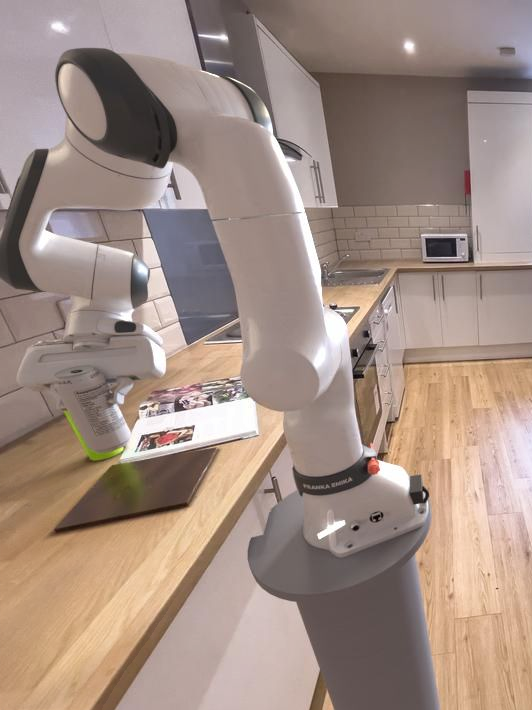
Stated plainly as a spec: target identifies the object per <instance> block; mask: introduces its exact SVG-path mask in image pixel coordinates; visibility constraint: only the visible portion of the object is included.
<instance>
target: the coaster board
mask: <svg viewBox="0 0 532 710" xmlns="http://www.w3.org/2000/svg"><path fill="white" fill-rule="evenodd" d="M218 452H219V447H218V446H216V447H209V448H204V449H198V450H193V451H187V452H180V453H174V454H168V455H163V456H157V457H152V458H151V457H150V458H146V459H140V460H135V461H134V460H133V461H129V462H123V463H115V464H112V465H110V467H108V469H107V470H106V471H105V472H104V473H103V474H102V476H100V478H99V479H98V480H97V481H96V482H95V483H94V484H93V485H92V486H91V487H90V489H89V490H87V492H86V493H85V494H84V495H83V496H82V497H81V498H80V500H79V501H78V502H77V503H76V504H75V505H74V506H73V507H72V508H71V510H70V511H68V513H67V514H66V515H65V516H64V517H63V518H62V519H61V520H60V521H59V522H58V524H57V525H56V526H55V527H54V528H53V531H54V533H61V532H67V531H70V530H76V529H80V528H86V527H91V526H94V525H99V524H105V523H109V522H115V521H120V520H124V519H130V518H135V517H140V516H144V515H149V514H154V513H159V512H163V511H168V510H173V509H178V508H182V507H187V506H190V504H191V502H192V500H193V498H194V496H195V495H196V493H197V491H198V489H199V487H200V486H201V484H202V481H203V480H204V478H205V476H206V475H207V472H208V470H209V469H210V467H211V465H212V463H213V461H214V459H215V458H216V456H217V454H218Z"/></svg>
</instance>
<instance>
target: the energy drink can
mask: <svg viewBox="0 0 532 710" xmlns="http://www.w3.org/2000/svg"><path fill="white" fill-rule="evenodd" d="M55 377H56V380H55V384H54V386H55V388H56V390H57V392H58V394H59V395H60V397H61V399H62V401H63V403H64V405H65V407H66V408H67V410H68V412H69V414H70V416H71V418H72V419H73V421H74V423H75V425H76V427H77V429H78V431H79V432H80V434H81V436H82V438H83V440H84V442H85V444H86V445H87V447H88V449H90V450H94V451H95V452H96V453H106V452H111V451H114V450H117V449H120V448H122V447H123V448H124V447H126V446H127V445H128V444H129V443H130V442H131V438H132V436H133V434H132V431H131V430H130V428H129V425H128V424H127V422H126V420H125V417H124V415H123V413H122V411H121V410H120V407H119V405H111V404H108V403H107V399H108V393H113V392H112V391H111V388H110V386H109V384H107V382H106V380H105V378H104V376H103V374H102V373H100V372H99V371H97V370H96V369H95V368H94V366H92V365H84V366H77V367H72V368H68V369H64V370H61V371H59V372H57V373H55Z"/></svg>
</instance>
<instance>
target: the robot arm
mask: <svg viewBox="0 0 532 710" xmlns="http://www.w3.org/2000/svg"><path fill="white" fill-rule="evenodd" d="M54 79H55V80H54V81H55V88H56V91H57V95H58V98H59V101H60V103H61V106H62V108H63V110H64V111H63V112H64V113H65V115H66V116H65V126H64V136H63V139H62V140H61V141H60V143H58V144H57V145H55V146H53V147H51V148H35V149H34V150H33V151H31V153H29V155H28V157H26V159H25V161H24V163H23V166H22V170H21V173H20V175H19V176H18V178H17V181H16V183H15V186H14V190H13V193H12V196H11V199H10V201H9V206H8V208H7V211H6V215H5V221H4V223H3V227H2V228H1V230H0V280H2V281H3V282H5V283H6V284H7V285H8V286H10V287H12V288H14V289H15V290H22V291H31V292H38V293H39V292H40V293H41V292H42V293H52V294H59V295H65V296H69V299H70V302H71V308H70V310H69V311H68V312H67V315H66V320H65V326H64V332H63V338H58V339H52V340H46V339H45V340H38V341H37V343H34V344H32V345H30V346H29V347H27V348H26V351H25V354H24V356H23V358H22V361H21V363H20V365H19V368H18V371H17V374H16V378H15V381H16V383H17V384H18V385H19V386H20V387H22V388H25V389H27V390H29V391H32V392H35V393H36V392H38V393H39V392H48V391H49V392H50V393H51V394H52V396H53V397H54V398H55V400H56V402H55V409H56V410H57V411H60V412H64V411H68V410H67V408H66V407H65V405H64V403H63V401H62V399H61V397H60V395H59V394H58V392H57V390H56V388H55V386H54V384H55V380H56V377H55V373H57V372H59V371H61V370H64V369H68V368H72V367H77V366H84V365H92V366H94V368H95V369H96V370H97V371H99V372H100V373H102V374H103V376H104V378H105V380H106V382H107V384H108V385H112V384H117V386H116V388H114V390H113V392H112V393H108V399H107V403H108V404H111V405H118V406H119V405H123V404H124V402H125V396H126V395H127V394H128V393H129V392H130V391H131V389H132V388H133V387H134V382H141V381H150V380H159V379H161V378H162V377H163V376H164V375H165V374H166V372H167V371H166V370H167V358H166V352H165V350H164V348H162V346H163V343H164V339H163V338H162V337H161V336H160V335H159V334H158V332H156V331H155V330H153V329H152V328H150V327H149V326H148V325H146V324H145V323H142V322H139V321H134V320H133V316H132V315H133V313H134V311H135V309H138V308H139V307H141V306H142V305H144V304H145V303H146V302H147V301H148V298H149V289H148V284H149V282H150V278H151V277H150V276H151V269H150V267H149V266H148V265H147V263H146V262H145V261H144V260H143V259H142V258H141V257H140V256H138V255H137V254H136V253H135V252H134V253H133V252H130V251H128V250H126V249H125V250H124V249H120V248H116V247H112V246H108V245H105V244H104V245H103V244H101V243H100V244H97V243H93V242H89V241H85V240H80V239H77V238H71V237H67V236H63V235H59V234H56V233H53V232H50V231H48V230H46V229H47V226H48V223H49V221H50V218H51V216H52V213H53V212H54V211H56V210H60V209H67V208H69V209H70V208H90V209H102V210H110V211H133V210H139V209H143V208H147V207H149V206H152V205H154V204H156V203H157V202H158V201H160V200H161V199H162V197H163V196H164V194H165V193H166V190H167V188H168V185H169V182H170V179H171V176H172V171H173V165H174V164H177V165H180V166H181V167H183V168H185V169H186V170H187V171H188V172H189V173H191V174H192V176H193V177H194V179H195V180H196V181H197V184H198V186H199V188H200V192H201V194H202V198H203V200H204V204H205V207H206V209H207V212H208V216H209V218H210V220H211V224H212V227H213V229H214V233H215V235H216V237H217V240H218V243H219V246H220V248H221V252H222V254H223V257H224V260H225V262H226V266H227V269H228V271H229V275H230V277H231V280H232V285H233V288H234V293H235V298H236V305H237V313H238V320H239V321H238V322H239V328H240V336H241V343H242V344H241V345H242V361H241V367H240V372H239V373H240V374H239V375H240V376H239V377H240V382H241V385H242V387H243V389H244V391H245V393H246V394H247V396H248V397H249V398H250V399H251V400H252V401H254V402H255V403H256V404H257V405H259V406H261V407H263V408H265V409H267V410H270V411H274V412H280V413H283V417H282V429H283V433H284V436H285V440H286V444H287V446H288V450H289V453H290V457H291V460H292V463H293V464H292V465H293V466H292V468H291V469H292V477H293V481H294V484H295V487H296V490H298V491H299V494H300V496H302V501H303V509H304V526H303V535H304V538H305V540H306V541H307V542H308V543H309V544H311V545H312V546H314V547H317V548H321V549H326V550H329V551H330V552H331V553H332V554H334V555H335V556H336V557H339V558H343V557H347V556H349V555H352V554H354V553H357V552H359V551H362V550H364V549H367V548H369V547H372V546H374V545H377V544H379V543H382V542H384V541H387V540H389V539H392V538H394V537H397V536H399V535H402V534H404V533H407V532H409V531H412V530H414V529H417V528H419V527H421V526H423V525H424V523H425V521H426V519H427V517H428V511H429V506H428V498H430V492H429V490H428V488H427V487H425V486H424V482H423V475H422V474H415V475H409V474H408V473H407V471H406V470H405V469H404V468H403V467H402V466H400V465H397V464H392V463H390V462H386V461H383V460H379V459H378V456H377V452H376V450H375V447H374V445H373V443H372V442H370V447H368V446H365V444H362V438H361V433H360V428H359V423H358V418H357V414H356V405H355V391H354V389H355V388H354V376H353V365H352V356H351V355H352V354H351V349H350V335H349V328H348V325H347V323H346V321H345V320H344V318H343V317H342V316H341V314H339V313H338V312H336V311H335V310H333V309H331V308H330V307H327V306H324V303H323V293H322V269H321V265H320V261H319V257H318V253H317V250H316V248H315V244H314V240H313V236H312V232H311V229H310V225H309V222H308V217H307V214H306V210H305V207H304V204H303V201H302V198H301V194H300V191H299V188H298V185H297V183H296V180H295V177H294V175H293V173H292V170H291V167H290V166H289V162H288V161H287V158H286V156H285V154H284V152H283V150H282V148H281V145H280V144H279V142H278V140H277V138H276V137H275V136H274V130H273V123H272V119H271V116H270V114H269V111H268V109H267V107H266V105H265V103H264V102H263V100H262V98H261V97H260V96H259V95H258V94H257V93H256V91H255V90H253V89H252V88H251V87H249V86H248V85H246V84H244V83H242V82H241V81H238V80H236V79H234V78H232V77H230V76H227V75H224V74H214V73H211V72H207V71H205V70H202V69H198V68H194V67H191V66H187V65H183V64H180V63H178V62H176V61H173V60H170V59H165V58H161V57H154V56H147V55H141V54H132V53H124V52H122V53H121V52H115V51H113V50H111V49H109V48H104V47H78V48H77V47H76V48H70V49H67V50H65V51H64V52H62V53H61V55H60V57H59V59H58V61H57V64H56V67H55V71H54ZM408 475H409V476H410V477H409V476H408ZM350 547H351V548H350Z"/></svg>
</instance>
